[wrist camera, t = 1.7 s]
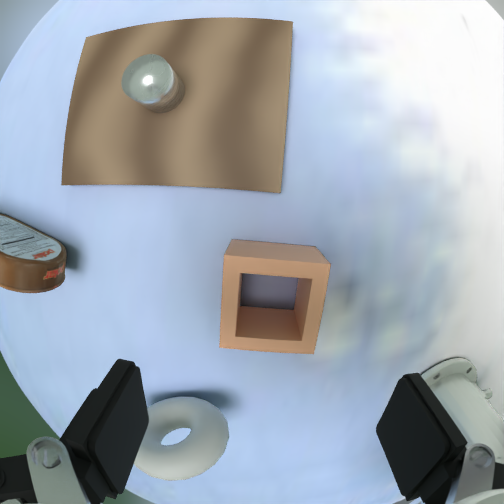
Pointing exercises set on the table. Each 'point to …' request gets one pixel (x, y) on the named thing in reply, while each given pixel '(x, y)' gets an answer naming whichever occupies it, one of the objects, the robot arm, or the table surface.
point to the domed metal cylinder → (153, 83)
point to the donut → (191, 448)
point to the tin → (29, 258)
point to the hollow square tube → (269, 319)
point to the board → (184, 107)
